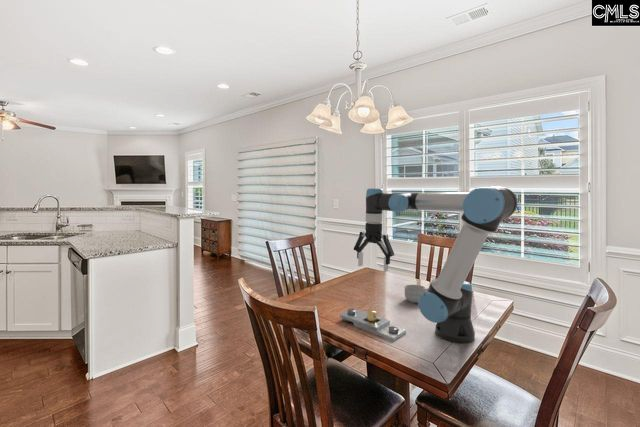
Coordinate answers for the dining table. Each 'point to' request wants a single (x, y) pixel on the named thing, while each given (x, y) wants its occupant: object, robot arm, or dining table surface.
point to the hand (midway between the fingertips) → (372, 268)
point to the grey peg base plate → (378, 328)
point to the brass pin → (371, 316)
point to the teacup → (414, 292)
